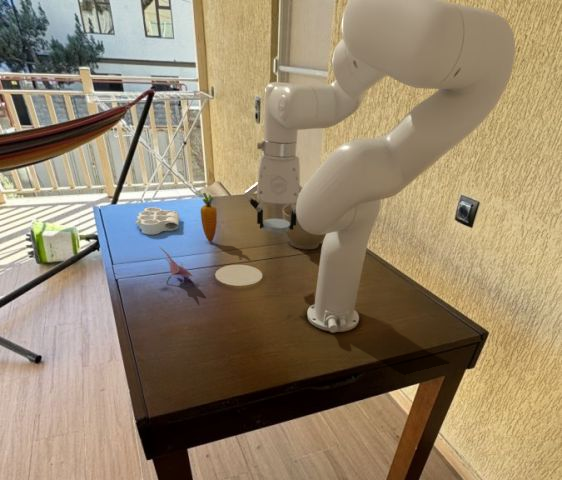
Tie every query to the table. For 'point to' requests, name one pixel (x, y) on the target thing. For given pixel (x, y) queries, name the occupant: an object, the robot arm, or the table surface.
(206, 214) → the carrot
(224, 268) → the dessert plate
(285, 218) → the planter bowl
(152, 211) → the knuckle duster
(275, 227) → the blue-grey cylinder
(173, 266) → the lily
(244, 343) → the table surface
